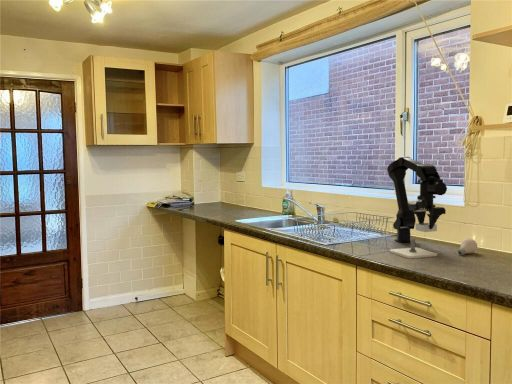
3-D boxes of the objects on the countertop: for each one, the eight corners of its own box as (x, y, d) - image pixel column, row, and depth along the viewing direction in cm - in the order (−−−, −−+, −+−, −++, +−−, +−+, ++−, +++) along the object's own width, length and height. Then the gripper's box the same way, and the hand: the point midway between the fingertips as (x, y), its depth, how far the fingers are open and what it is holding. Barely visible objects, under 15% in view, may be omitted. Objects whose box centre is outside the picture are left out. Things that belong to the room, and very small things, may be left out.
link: (415, 229, 211) (415, 223, 211) (427, 229, 213) (427, 222, 213) (424, 232, 205) (424, 225, 205) (436, 231, 207) (436, 224, 207)
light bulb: (464, 245, 192) (477, 235, 198) (450, 246, 198) (463, 236, 204) (469, 260, 193) (482, 249, 199) (455, 260, 198) (468, 250, 204)
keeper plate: (389, 251, 204) (389, 237, 204) (416, 249, 208) (416, 235, 208) (408, 258, 191) (409, 243, 190) (437, 255, 195) (437, 240, 195)
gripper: (398, 192, 214) (398, 225, 215) (425, 195, 196) (424, 232, 198) (419, 191, 218) (418, 224, 219) (446, 194, 200) (446, 230, 201)
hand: (426, 227), depth 209 cm, fingers closed on link, 6 cm apart
